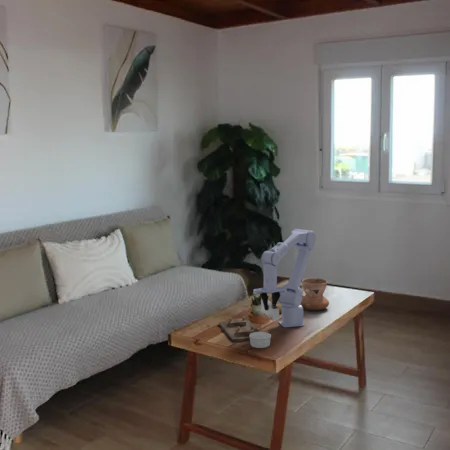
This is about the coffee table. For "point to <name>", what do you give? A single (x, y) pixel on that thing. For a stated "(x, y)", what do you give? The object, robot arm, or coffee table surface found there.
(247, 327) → the board
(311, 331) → the coffee table surface
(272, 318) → the steel bar
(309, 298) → the clay incense burner
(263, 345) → the ramekin
